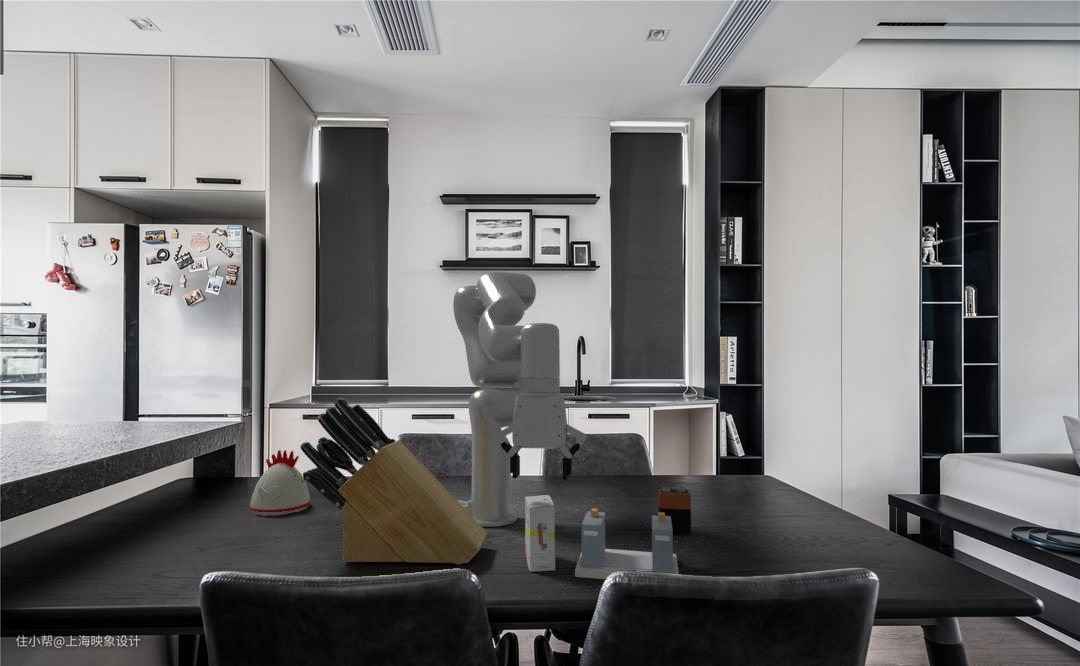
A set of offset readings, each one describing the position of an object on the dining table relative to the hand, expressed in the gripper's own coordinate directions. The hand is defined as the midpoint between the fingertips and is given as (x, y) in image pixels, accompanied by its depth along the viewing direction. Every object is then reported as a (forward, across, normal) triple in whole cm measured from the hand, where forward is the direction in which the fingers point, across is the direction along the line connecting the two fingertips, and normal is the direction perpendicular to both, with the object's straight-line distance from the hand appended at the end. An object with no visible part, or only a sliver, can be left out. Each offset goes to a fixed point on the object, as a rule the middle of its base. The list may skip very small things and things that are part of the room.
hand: (540, 478), depth 102 cm
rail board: (+16, +16, +2) cm, 23 cm away
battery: (+16, +25, +26) cm, 40 cm away
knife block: (+16, -29, -1) cm, 33 cm away
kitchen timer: (+15, -74, +24) cm, 79 cm away
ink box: (+16, -1, +1) cm, 16 cm away
